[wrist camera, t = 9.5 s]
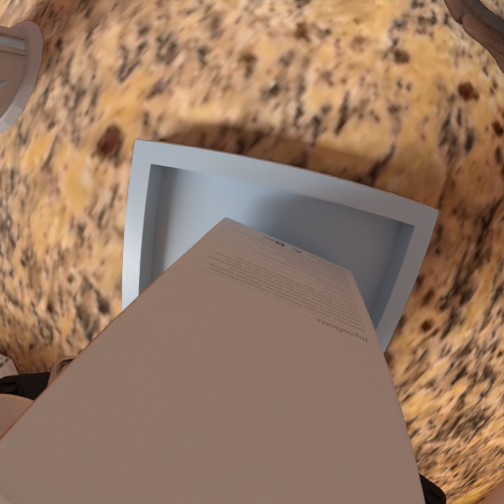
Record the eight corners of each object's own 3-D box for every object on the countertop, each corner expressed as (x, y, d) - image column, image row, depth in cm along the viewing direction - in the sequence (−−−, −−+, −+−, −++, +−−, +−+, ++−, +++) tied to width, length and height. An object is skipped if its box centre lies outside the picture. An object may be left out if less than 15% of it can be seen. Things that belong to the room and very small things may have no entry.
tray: (420, 202, 14) (439, 210, 12) (337, 404, 18) (340, 429, 16) (157, 140, 15) (135, 139, 13) (139, 354, 19) (124, 375, 17)
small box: (224, 213, 13) (-48, 464, 1) (354, 269, 13) (452, 589, 1) (177, 348, 16) (56, 552, 4) (282, 391, 16) (246, 617, 4)
